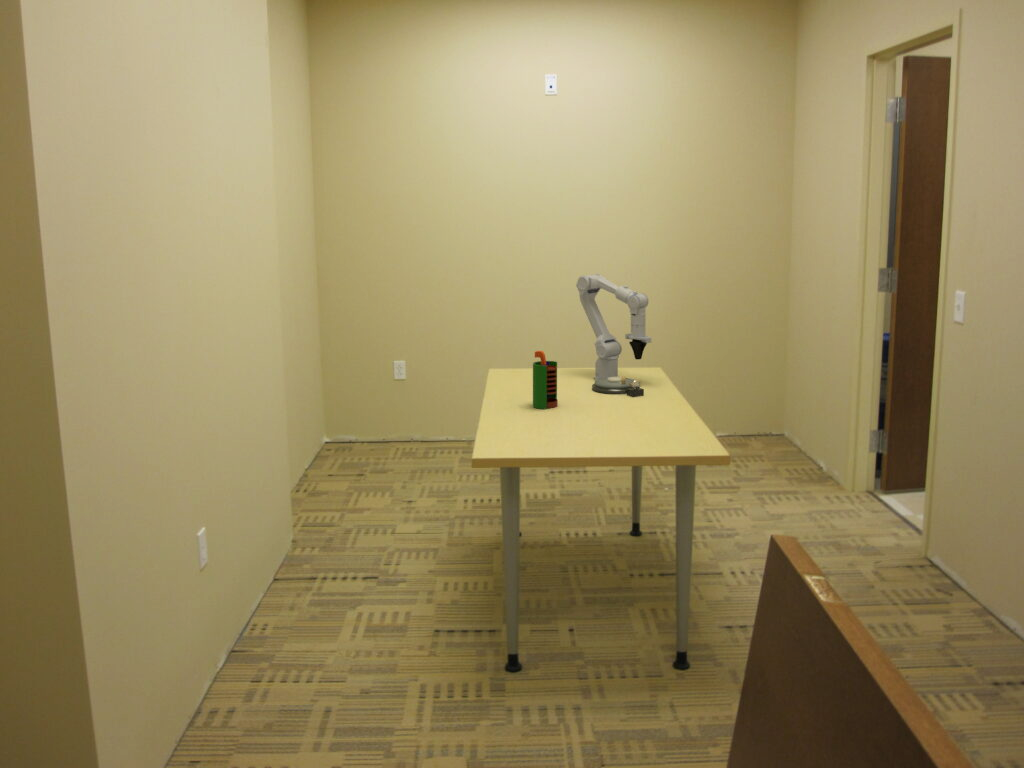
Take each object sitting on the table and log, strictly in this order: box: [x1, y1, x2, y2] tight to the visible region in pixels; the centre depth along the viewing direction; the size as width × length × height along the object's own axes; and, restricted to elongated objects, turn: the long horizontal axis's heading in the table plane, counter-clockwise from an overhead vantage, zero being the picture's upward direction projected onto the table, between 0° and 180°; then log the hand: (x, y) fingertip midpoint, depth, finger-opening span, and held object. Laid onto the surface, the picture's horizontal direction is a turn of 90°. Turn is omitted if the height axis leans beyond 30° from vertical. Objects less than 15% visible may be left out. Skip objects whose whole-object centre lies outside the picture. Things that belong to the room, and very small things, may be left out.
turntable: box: [594, 375, 635, 389], centre depth 348 cm, size 16×16×4 cm
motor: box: [532, 350, 559, 410], centre depth 322 cm, size 10×9×20 cm
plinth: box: [591, 382, 629, 395], centre depth 349 cm, size 18×18×2 cm
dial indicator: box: [626, 379, 645, 398], centre depth 338 cm, size 5×5×6 cm
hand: (638, 359), depth 354 cm, fingers closed
